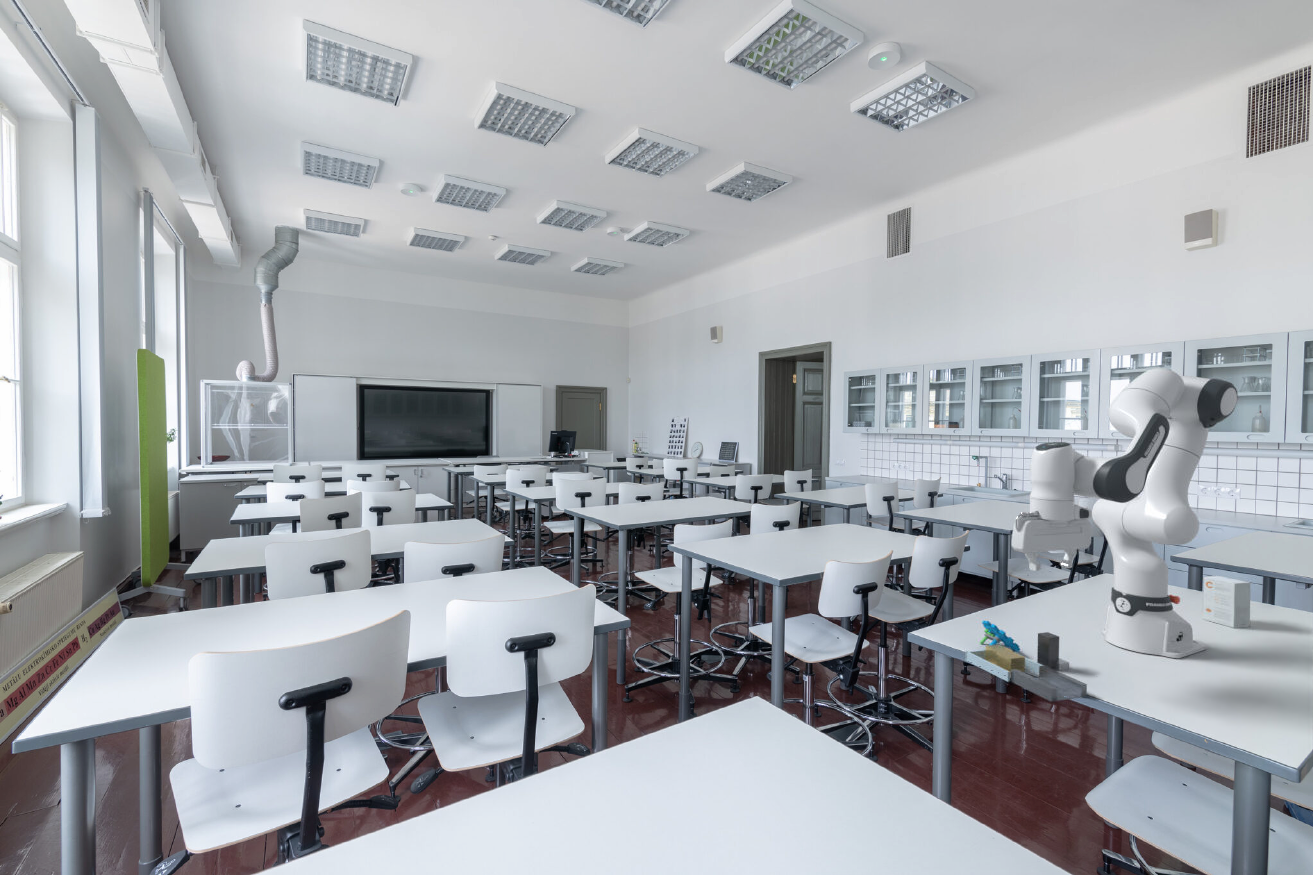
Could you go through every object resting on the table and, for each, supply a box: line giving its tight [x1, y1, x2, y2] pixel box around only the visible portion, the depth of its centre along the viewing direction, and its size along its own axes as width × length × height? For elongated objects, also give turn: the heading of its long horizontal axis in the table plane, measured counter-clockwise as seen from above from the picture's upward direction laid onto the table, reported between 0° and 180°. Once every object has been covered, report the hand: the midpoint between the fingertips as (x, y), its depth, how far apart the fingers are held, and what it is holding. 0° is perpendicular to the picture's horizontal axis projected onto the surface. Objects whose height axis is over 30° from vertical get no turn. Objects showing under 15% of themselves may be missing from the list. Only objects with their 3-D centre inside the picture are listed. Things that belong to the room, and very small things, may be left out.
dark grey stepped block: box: [1036, 631, 1070, 672], centre depth 139 cm, size 5×5×8 cm
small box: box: [1202, 575, 1251, 629], centre depth 172 cm, size 8×6×13 cm
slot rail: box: [1010, 665, 1088, 703], centre depth 127 cm, size 10×10×3 cm
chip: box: [997, 651, 1026, 677], centre depth 136 cm, size 4×4×4 cm
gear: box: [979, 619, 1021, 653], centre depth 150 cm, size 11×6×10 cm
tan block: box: [984, 643, 1014, 665], centre depth 140 cm, size 4×4×4 cm
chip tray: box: [964, 648, 1043, 683], centre depth 138 cm, size 11×12×2 cm
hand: (1050, 568), depth 138 cm, fingers open, 8 cm apart
